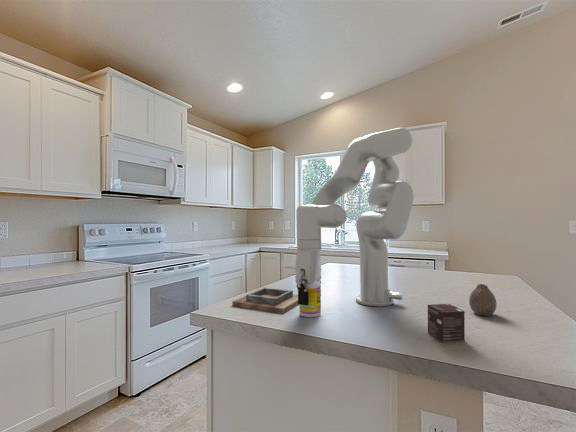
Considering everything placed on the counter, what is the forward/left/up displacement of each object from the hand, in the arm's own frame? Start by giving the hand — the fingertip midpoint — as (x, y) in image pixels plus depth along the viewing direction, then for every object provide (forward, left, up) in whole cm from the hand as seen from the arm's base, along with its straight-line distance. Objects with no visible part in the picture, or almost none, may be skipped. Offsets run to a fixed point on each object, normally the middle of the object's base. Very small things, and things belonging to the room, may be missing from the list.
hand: (309, 300), depth 93 cm
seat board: (+18, -6, -4) cm, 19 cm away
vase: (-47, -22, -5) cm, 52 cm away
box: (-37, +2, -5) cm, 37 cm away
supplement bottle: (0, 0, -5) cm, 5 cm away
